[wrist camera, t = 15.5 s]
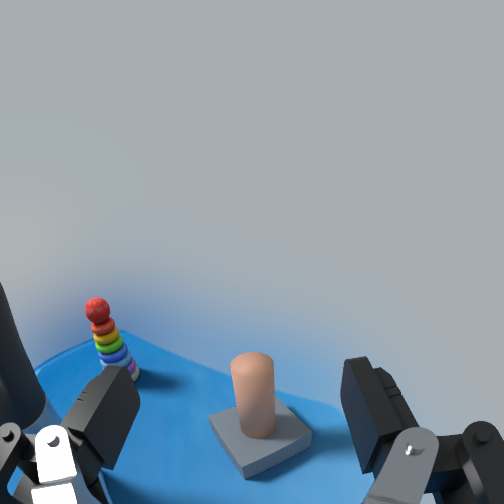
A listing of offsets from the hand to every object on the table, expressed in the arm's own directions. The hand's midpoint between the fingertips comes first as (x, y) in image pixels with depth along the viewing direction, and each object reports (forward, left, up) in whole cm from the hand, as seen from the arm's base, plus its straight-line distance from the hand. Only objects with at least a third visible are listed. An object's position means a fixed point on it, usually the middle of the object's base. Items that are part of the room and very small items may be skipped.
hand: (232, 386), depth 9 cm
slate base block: (+9, +17, -30) cm, 35 cm away
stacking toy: (-9, +44, -30) cm, 54 cm away
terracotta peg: (+9, +17, -26) cm, 32 cm away
